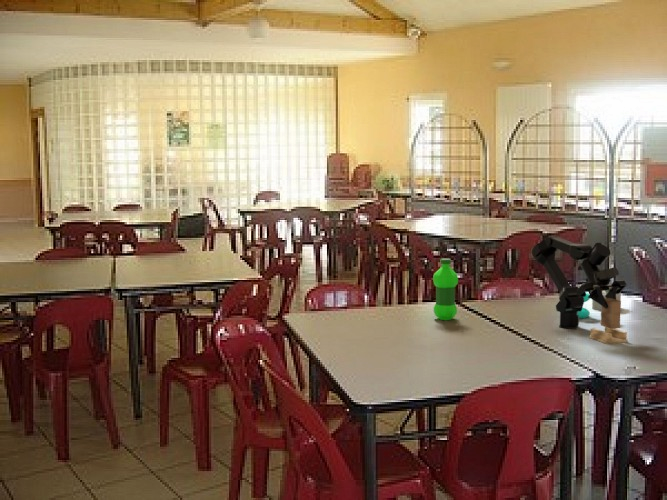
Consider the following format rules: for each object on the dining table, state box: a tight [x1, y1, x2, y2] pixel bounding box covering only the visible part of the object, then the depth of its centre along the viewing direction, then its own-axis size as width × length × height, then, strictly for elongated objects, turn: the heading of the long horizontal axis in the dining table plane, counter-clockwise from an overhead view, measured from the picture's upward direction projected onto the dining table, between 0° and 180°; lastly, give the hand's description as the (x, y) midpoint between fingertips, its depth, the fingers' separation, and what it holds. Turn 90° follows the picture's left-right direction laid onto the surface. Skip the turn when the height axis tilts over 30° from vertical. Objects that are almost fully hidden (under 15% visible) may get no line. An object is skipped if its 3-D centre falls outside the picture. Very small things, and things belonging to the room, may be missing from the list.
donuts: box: [577, 292, 591, 319], centre depth 331 cm, size 10×10×10 cm
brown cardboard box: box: [600, 298, 622, 329], centre depth 289 cm, size 6×4×10 cm, turn 20°
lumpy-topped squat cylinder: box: [591, 291, 622, 312], centre depth 347 cm, size 10×13×9 cm
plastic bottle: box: [432, 257, 459, 321], centre depth 327 cm, size 10×10×25 cm
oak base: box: [588, 327, 629, 345], centre depth 291 cm, size 10×9×4 cm
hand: (611, 307), depth 288 cm, fingers closed on brown cardboard box, 3 cm apart
